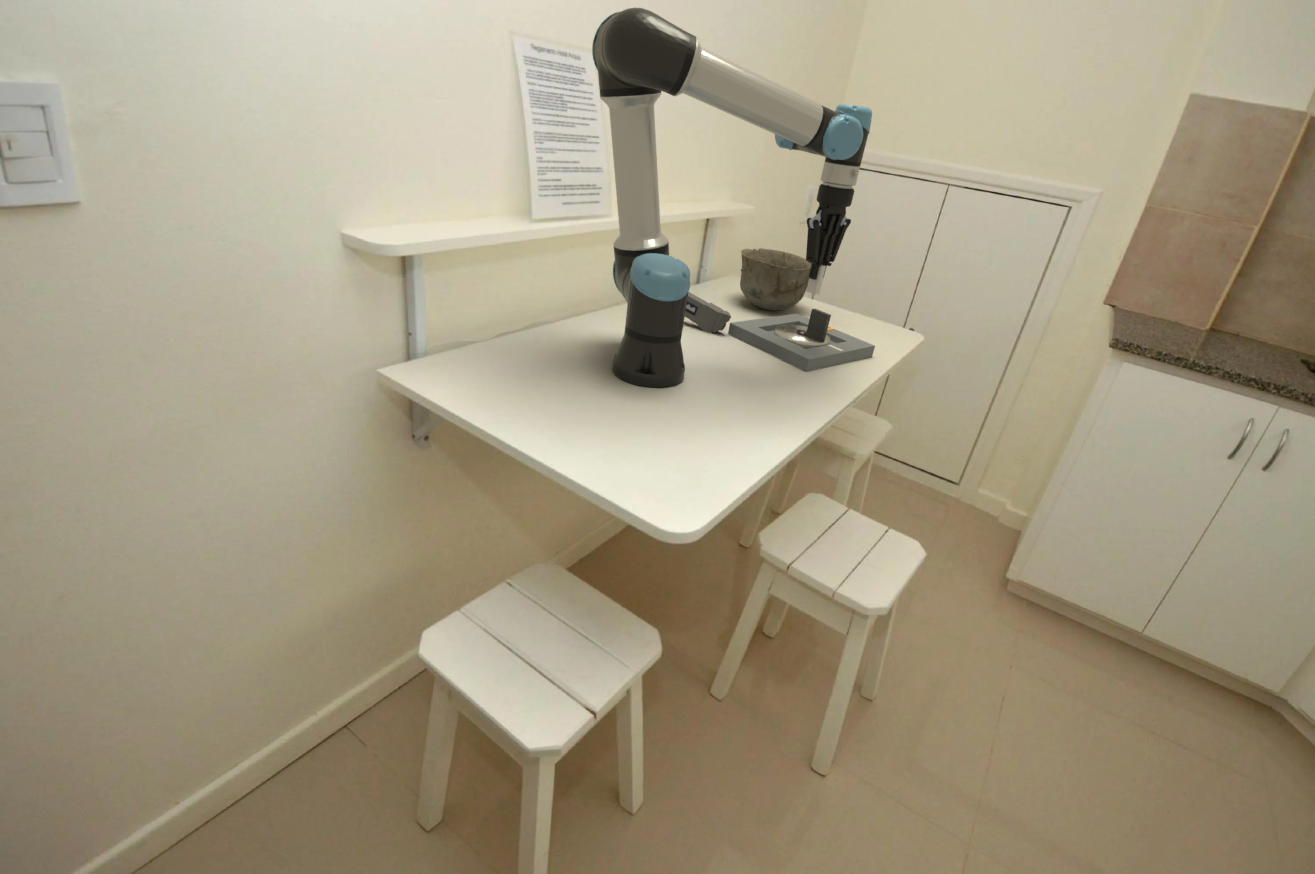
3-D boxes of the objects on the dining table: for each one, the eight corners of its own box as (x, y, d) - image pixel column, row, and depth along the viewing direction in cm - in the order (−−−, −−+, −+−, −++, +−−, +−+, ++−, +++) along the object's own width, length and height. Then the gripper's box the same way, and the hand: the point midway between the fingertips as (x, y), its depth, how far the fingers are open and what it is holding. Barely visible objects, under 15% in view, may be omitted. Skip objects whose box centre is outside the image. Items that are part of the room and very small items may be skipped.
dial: (804, 352, 157) (812, 318, 153) (762, 332, 166) (769, 300, 162) (840, 345, 165) (848, 313, 162) (798, 327, 175) (805, 296, 171)
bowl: (762, 293, 208) (772, 245, 201) (819, 314, 195) (831, 264, 188) (716, 300, 194) (724, 249, 187) (773, 323, 181) (784, 269, 174)
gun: (700, 363, 171) (729, 317, 162) (629, 306, 175) (653, 259, 167) (705, 360, 173) (734, 315, 165) (635, 304, 178) (659, 257, 169)
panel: (805, 371, 150) (809, 358, 149) (727, 334, 167) (730, 322, 166) (871, 356, 166) (875, 345, 164) (794, 324, 183) (797, 312, 182)
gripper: (832, 187, 135) (807, 299, 146) (869, 188, 143) (843, 295, 153) (804, 181, 140) (782, 290, 151) (842, 182, 147) (818, 286, 158)
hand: (812, 292), depth 152 cm, fingers closed
